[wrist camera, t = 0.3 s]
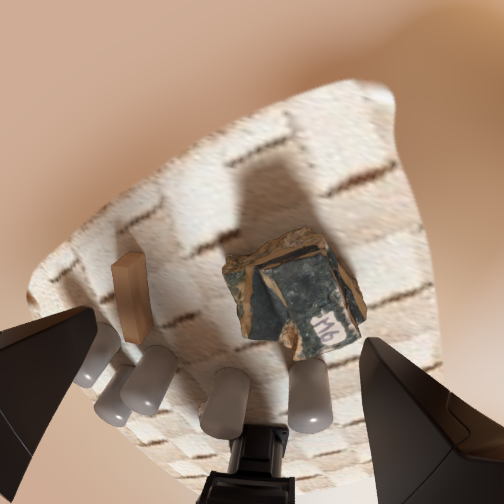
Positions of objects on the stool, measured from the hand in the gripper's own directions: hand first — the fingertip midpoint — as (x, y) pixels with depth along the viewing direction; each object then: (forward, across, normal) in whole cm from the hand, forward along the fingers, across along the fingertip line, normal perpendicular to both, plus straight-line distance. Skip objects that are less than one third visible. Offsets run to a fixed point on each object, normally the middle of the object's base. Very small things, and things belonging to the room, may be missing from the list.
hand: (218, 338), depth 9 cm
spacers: (+14, +5, +15) cm, 21 cm away
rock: (+14, -3, +4) cm, 15 cm away
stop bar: (+14, +10, +6) cm, 18 cm away
